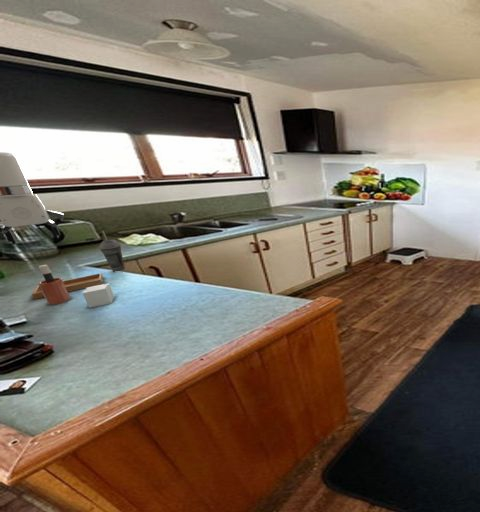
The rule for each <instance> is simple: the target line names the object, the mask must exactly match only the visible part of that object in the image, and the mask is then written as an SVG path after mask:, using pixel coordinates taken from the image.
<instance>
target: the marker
mask: <svg viewBox="0 0 480 512" xmlns="http://www.w3.org/2000/svg"><path fill="white" fill-rule="evenodd" d="M38 269H39V270H40V273H41V275H42V276H43V278H44V280H46V283H50V282H54V281H55V280H54V278H55V277H54V276H53V274H52V271H51V269H50V267H49V265H48V264H42V265H41V264H40V265H39V266H38Z"/></svg>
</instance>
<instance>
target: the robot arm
mask: <svg viewBox="0 0 480 512" xmlns="http://www.w3.org/2000/svg"><path fill="white" fill-rule="evenodd" d="M64 215H65V214H64V213H62V212H58V211H53V210H48V209H46V207H45V205H44V203H43V202H42V200H41V199H40V197H38V195H37V194H36V193H33V191H32V189H31V187H30V184H29V182H28V180H27V178H26V176H25V174H24V171H23V169H22V166H21V164H20V162H19V160H18V158H17V157H16V155H14V154H13V153H10V152H2V151H1V152H0V222H1V224H2V226H0V233H2V234H4V236H5V237H6V239H7V241H8V243H11V244H12V245H16V244H18V243H19V240H18V239H17V237H16V235H15V232H14V231H12V228H15V227H17V228H18V227H25V226H34V225H42V224H45V225H48V226H50V230H51V233H52V235H53V237H54V239H59V238H60V236H61V232H60V230H59V228H58V226H59V225H60V224H61V222H62V221H63V219H64ZM50 216H55V217H56V220H55V221H53V220H51V217H50ZM3 226H4V227H3Z"/></svg>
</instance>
